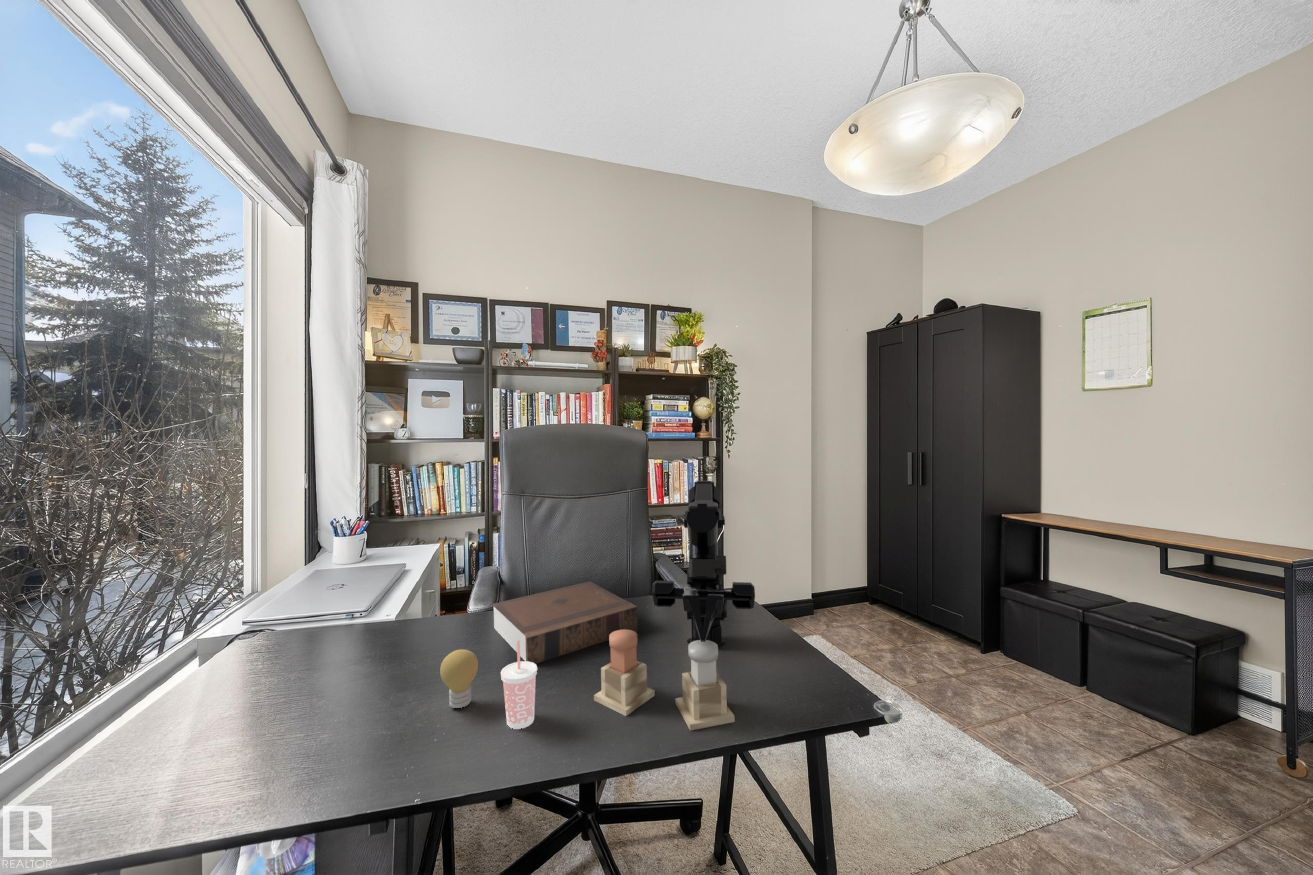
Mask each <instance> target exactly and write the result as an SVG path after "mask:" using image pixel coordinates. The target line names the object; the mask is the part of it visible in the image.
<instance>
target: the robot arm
mask: <svg viewBox="0 0 1313 875" xmlns="http://www.w3.org/2000/svg"><path fill="white" fill-rule="evenodd" d="M693 484H694V485H693V486H692V487H691V488H689V489H688V510H685V511H684V517H683V527H684V528H685V529H687V538H688V545H689V546H688V567H687V572H686V583H687V586H684V587H675V581H674V580H655V581H654V582H653V583H652V588H651V596H652V601H653V604H654V606H655V607H660V608H661V607H662V608H663V607H665V608H671V607H672V606H674V605H675V604H676V599H677V600H682V604H683V611H684V612H686V617H687V618H686V619H687V620H691V637H688V638H687V639H686V642H687V643H688V644H690V643H691V642H693V641H696V640H700V641H701V642H705V641H706V640H709V641H712V642H714V643H716V644H717V645H718V647H719V646H720V645H724V644H725V643H726V639H723V638H722V625H721V621H725V619H726V618H727V617H728V610H727V606H728V605H727V604H728V602H727V601H731V603H732V606H733V607H734V608H735V609H738V610H739V609H740V610H752V609H754V607H755V602H756V601H755V599H756V592H755V590H756V588H755V585H753V583H752V582H744V581H743V582H742V581H741V582H738V581H737V582H736V581H732V587H731V588H721V583H720V580H719V578H720V576H719V575H727V556H726V555H719V554H718V553H719V552H718V550H719V548H718V547H719V546H718V542H719V540H718V534H719V529H722V528H723V526H725V525H726V518H725V515H724V514H723V513H722V490H721V489H720V488H718V487H717V486H716V485H715V481H712V480H696V481H694V483H693Z"/></svg>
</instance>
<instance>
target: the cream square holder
mask: <svg viewBox="0 0 1313 875" xmlns="http://www.w3.org/2000/svg"><path fill="white" fill-rule="evenodd" d="M647 670H648V666H647V664H646V663H643V662H641V661H639V660H637V667H635V668H634V669H632V670H630V671H629V672H627V673H626V674H623V673H621V672H618V671H616V670H614V669H611V662H609V663H607V664H605V665H604V666H602V667H600V683H601V690H599V691H598V692H597V693H595V694H594V695H593V701H594V702H596V703H598V704H600V705H602V706H604V707H607V708H609V709H610V710H613V711H615V712H617V713H619V714H620V715H623V716H624V717H627V716H628V715H630V714H631V713H633V712H634V711H635V710H636V709H639V707H641V706H642V705H644V704H645V703H646V702H648V701H649V700H650V699H652V698H653V697H655V695H656V694H655V693H656V692H655V689H653V688H651V687H648V677H647V676H648V671H647Z"/></svg>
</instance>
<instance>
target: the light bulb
mask: <svg viewBox="0 0 1313 875" xmlns="http://www.w3.org/2000/svg"><path fill="white" fill-rule="evenodd" d="M478 669H479V660H478V656H476V654H475V653H474V652H472V650H471V651H470V650H468V649H456V650H453V651H451V652H450V653H449V654H447V655H446V656H445V657H444V658H443V659H442V662H441V664H440V669H439V674H440V678H441V680H442V682H443V683H444V684H445V685H446V687H448V688H449V690H448V695H449V696H448V700H449V703H448V704H449V707H451V708H452V709H454V708H461V709H463V708H462V707H464V708H466V707H467V706H468V705H470V703H472V686H471V685H470V684H471V683H472V682H473V680H474V678H475V677H476V675H477V672H478ZM465 706H466V707H465Z"/></svg>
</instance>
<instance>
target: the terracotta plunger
mask: <svg viewBox="0 0 1313 875" xmlns="http://www.w3.org/2000/svg"><path fill="white" fill-rule="evenodd" d="M608 641H609V642H608V643H609V647H610V663H611V669H614V670H616V671H618V672H621V673H623V674H626V673H627V672H629V671H630V670H632V669H634V668H635V667H637V661H638V659H637V646H638V633H637V631H635V632H634V631H632V630H617V631H614V632H612V633H611V634H610V635H609V640H608Z"/></svg>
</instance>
